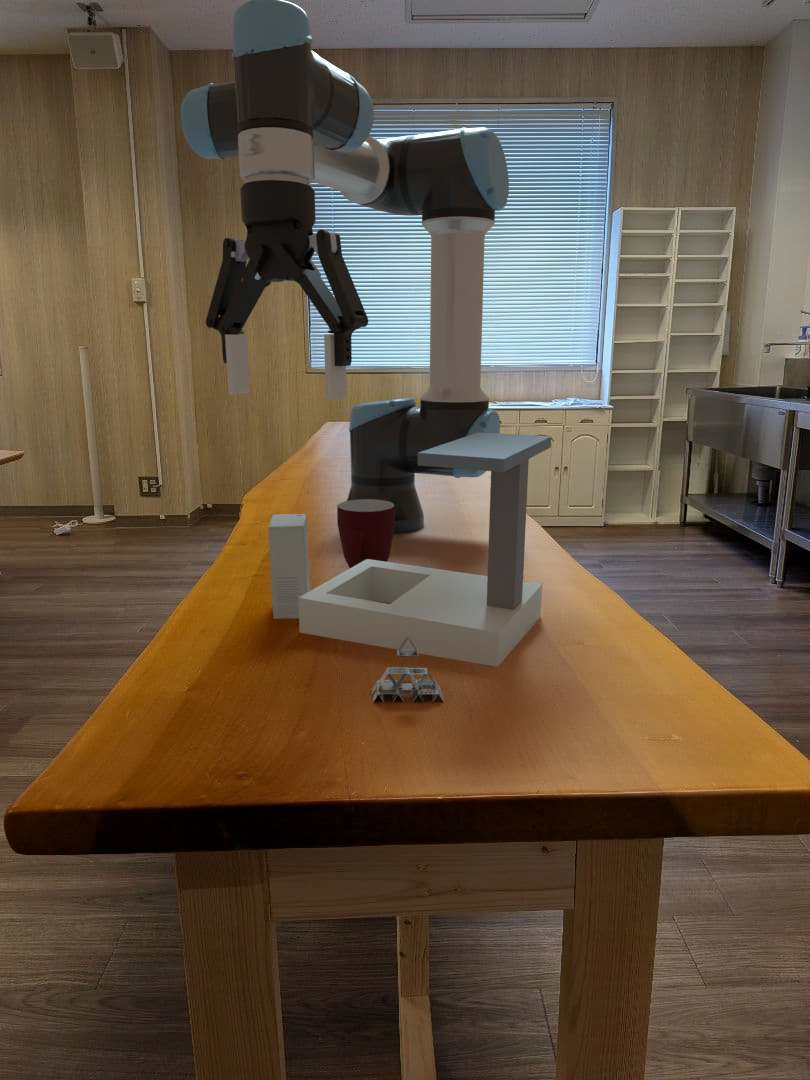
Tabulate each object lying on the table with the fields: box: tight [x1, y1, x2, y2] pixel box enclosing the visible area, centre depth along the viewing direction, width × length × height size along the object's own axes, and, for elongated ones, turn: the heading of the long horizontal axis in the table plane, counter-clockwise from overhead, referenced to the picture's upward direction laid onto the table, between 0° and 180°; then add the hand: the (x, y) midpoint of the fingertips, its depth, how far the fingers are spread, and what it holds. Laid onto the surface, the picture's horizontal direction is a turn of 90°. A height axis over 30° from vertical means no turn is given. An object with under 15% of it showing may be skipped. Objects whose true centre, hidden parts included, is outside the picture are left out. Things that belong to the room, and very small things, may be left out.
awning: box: [418, 432, 552, 610], centre depth 77 cm, size 17×8×17 cm, turn 155°
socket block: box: [298, 559, 543, 668], centre depth 83 cm, size 16×23×5 cm
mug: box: [336, 499, 395, 569], centre depth 101 cm, size 10×8×10 cm
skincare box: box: [267, 513, 311, 620], centre depth 87 cm, size 6×4×12 cm
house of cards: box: [371, 634, 445, 703], centre depth 67 cm, size 9×9×8 cm
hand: (285, 396), depth 80 cm, fingers open, 13 cm apart
